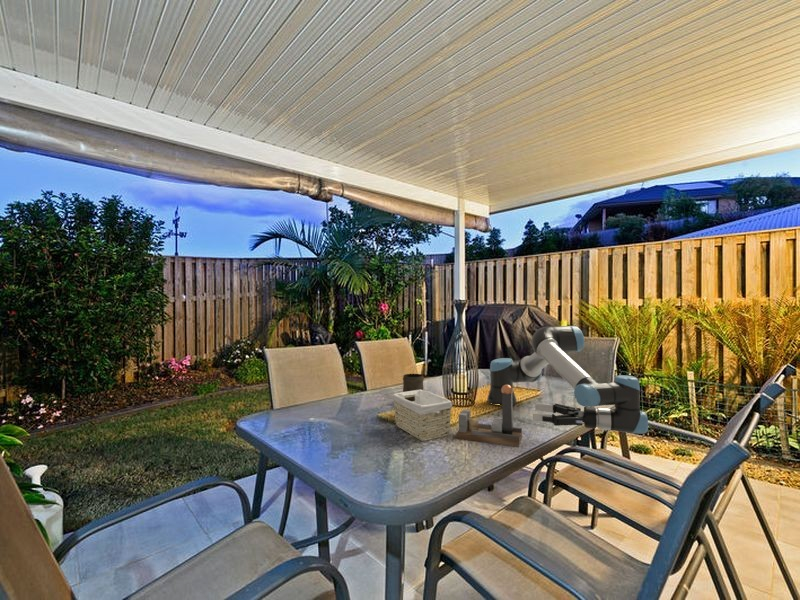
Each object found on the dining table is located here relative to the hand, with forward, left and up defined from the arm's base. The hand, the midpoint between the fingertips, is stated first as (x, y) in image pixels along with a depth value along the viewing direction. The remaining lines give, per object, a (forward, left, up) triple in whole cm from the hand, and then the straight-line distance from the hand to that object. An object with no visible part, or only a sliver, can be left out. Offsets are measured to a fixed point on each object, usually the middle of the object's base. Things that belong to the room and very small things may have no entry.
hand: (533, 411), depth 143 cm
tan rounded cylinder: (0, -24, -10) cm, 26 cm away
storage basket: (+3, -45, -12) cm, 47 cm away
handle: (0, -12, -10) cm, 15 cm away
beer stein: (-18, -56, -12) cm, 60 cm away
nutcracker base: (0, -17, -12) cm, 21 cm away
